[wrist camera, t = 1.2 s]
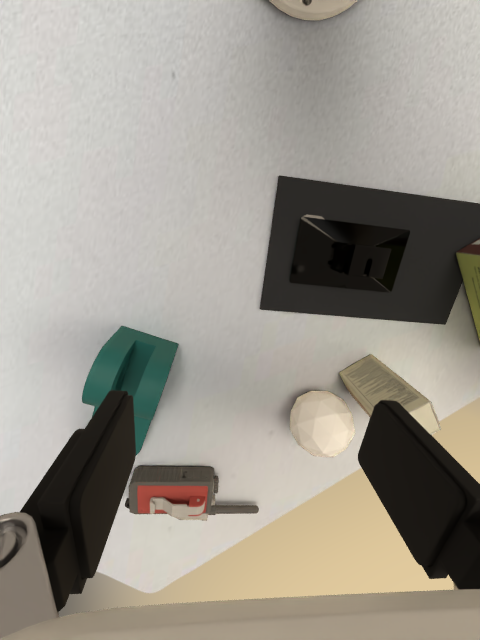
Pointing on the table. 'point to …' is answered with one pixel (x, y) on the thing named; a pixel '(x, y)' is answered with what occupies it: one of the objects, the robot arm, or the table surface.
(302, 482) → the table surface
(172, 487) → the walkie-talkie
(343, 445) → the geometric ball
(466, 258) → the protein box
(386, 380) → the printed cream carton
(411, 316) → the desk mat
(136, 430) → the bracket
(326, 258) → the build plate
